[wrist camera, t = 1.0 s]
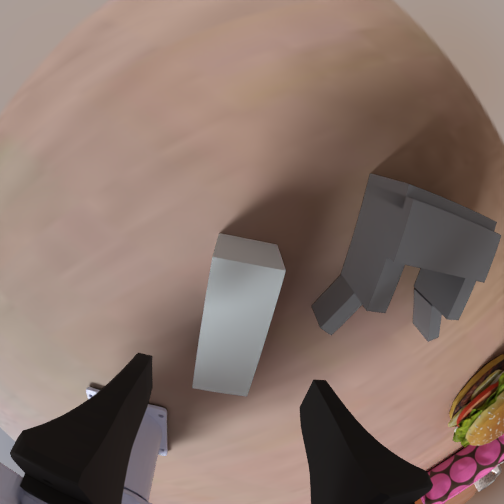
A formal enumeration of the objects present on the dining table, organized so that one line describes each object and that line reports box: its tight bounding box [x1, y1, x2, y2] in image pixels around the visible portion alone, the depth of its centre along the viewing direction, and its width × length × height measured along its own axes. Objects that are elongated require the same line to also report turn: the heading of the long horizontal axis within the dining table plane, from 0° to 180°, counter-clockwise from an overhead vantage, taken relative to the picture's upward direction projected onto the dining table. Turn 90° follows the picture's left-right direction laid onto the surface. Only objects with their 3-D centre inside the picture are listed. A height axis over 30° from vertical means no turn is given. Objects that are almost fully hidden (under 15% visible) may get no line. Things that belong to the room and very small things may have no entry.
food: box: [448, 354, 504, 447], centre depth 21 cm, size 14×14×8 cm
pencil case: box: [421, 434, 504, 504], centre depth 28 cm, size 21×10×10 cm, turn 133°
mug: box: [477, 465, 501, 491], centre depth 42 cm, size 10×7×7 cm, turn 129°
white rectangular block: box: [192, 233, 286, 396], centre depth 17 cm, size 9×4×4 cm, turn 168°
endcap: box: [312, 173, 501, 342], centre depth 15 cm, size 10×10×5 cm
